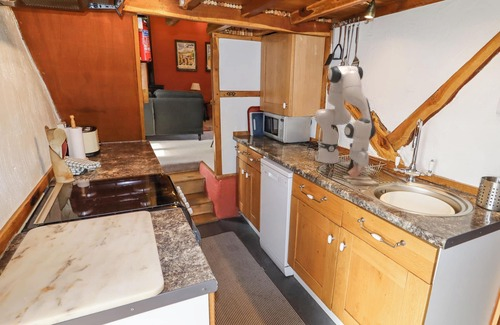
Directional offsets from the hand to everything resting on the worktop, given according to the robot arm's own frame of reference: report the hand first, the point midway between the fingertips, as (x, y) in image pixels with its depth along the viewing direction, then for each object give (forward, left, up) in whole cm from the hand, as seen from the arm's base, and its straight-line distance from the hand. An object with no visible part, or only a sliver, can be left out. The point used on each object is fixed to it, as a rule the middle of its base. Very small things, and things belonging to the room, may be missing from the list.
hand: (356, 169), depth 167 cm
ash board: (0, +3, -7) cm, 8 cm away
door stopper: (-21, +8, -8) cm, 24 cm away
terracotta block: (0, -3, -4) cm, 5 cm away
